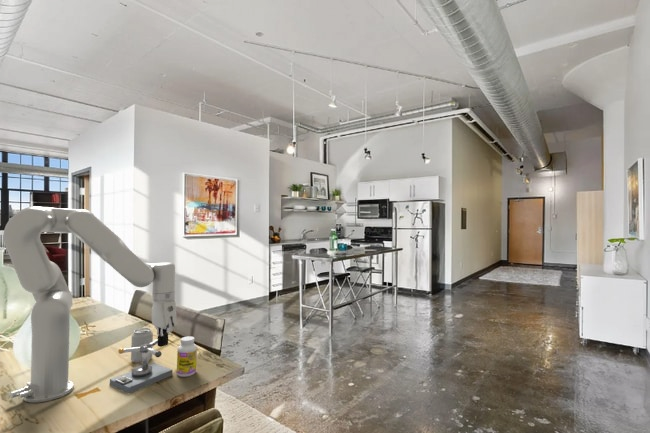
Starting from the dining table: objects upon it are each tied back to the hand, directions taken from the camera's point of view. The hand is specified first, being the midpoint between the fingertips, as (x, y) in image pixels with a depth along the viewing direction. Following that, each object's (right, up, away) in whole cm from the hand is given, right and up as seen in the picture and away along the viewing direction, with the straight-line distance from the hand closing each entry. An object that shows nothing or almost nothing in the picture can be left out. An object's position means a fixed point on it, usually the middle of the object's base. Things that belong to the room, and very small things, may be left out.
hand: (162, 345), depth 129 cm
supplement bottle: (+9, -10, -1) cm, 14 cm away
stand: (-4, -9, -7) cm, 12 cm away
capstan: (-5, -7, -7) cm, 11 cm away
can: (-13, -10, +9) cm, 19 cm away
